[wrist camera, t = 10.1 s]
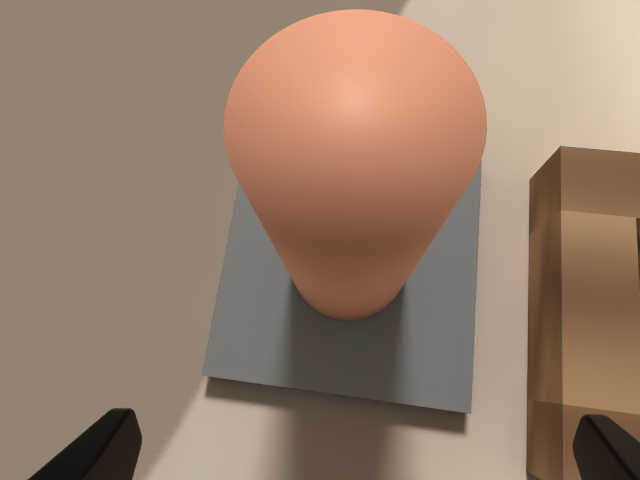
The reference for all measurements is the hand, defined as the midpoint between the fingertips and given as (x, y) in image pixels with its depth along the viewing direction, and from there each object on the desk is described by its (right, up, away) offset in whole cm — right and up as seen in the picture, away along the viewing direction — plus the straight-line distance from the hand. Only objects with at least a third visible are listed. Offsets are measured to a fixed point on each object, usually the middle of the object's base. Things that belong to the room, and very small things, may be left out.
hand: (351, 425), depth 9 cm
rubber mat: (+1, +3, +10) cm, 10 cm away
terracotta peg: (+1, +3, +9) cm, 10 cm away
